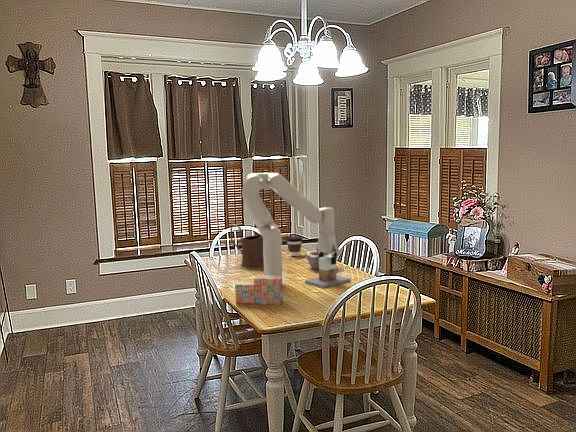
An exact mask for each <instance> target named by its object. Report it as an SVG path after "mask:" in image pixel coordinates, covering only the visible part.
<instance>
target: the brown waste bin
mask: <svg viewBox="0 0 576 432" xmlns="http://www.w3.org/2000/svg"><path fill="white" fill-rule="evenodd" d="M234 227H237V228H238V230H239V238H240V242H241V248H240V247H239V246H238V245H237V244H236V243H235V242H234V239H233V228H234ZM230 241H231V243H232V244H233V245H234V246H235V247H236V248H237V249H238V250H239V252H240V253H241V256H242V257H241V259H242V261H241V264H240V267H241V266H242V267H241V268H243V267H245V268H244V269H252V268H253V269H262V268H263V269H264V257H263V237H262V235H261V234H260V235H250V236H245V237H243V236H242V228H241V227H240V226H239V225H237V224H234V225H233V224H232V225H231V227H230Z"/></svg>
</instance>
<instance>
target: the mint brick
mask: <svg viewBox="0 0 576 432" xmlns="http://www.w3.org/2000/svg"><path fill="white" fill-rule="evenodd" d="M331 257H332V256H325V257H320V258H319V269H321V270H330V269H334V268H336V269H337V263H336V264H333V265H332V264H331ZM319 269H318V270H319Z"/></svg>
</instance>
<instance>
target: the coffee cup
mask: <svg viewBox="0 0 576 432" xmlns="http://www.w3.org/2000/svg"><path fill="white" fill-rule="evenodd" d="M285 241H286V242H287V244H286V245H287V248H288V255H289V257H292V256H297V257H300V254H301V252H302V251H301V250H302V249H301V247H302V241H303V238H302V237H301V236H289V237H287V238H286V240H285Z"/></svg>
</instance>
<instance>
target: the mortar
mask: <svg viewBox="0 0 576 432" xmlns="http://www.w3.org/2000/svg"><path fill="white" fill-rule="evenodd" d="M323 254H324V257H325V256H332V255H331V254H330V253H324V252H323ZM333 254H334V253H333ZM304 255H305V257H306V260H307V262H308V264H309V266H310V267H311V268H312V269H313V270H319V254H318V252H317V250H310V251H305V252H304Z"/></svg>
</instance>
